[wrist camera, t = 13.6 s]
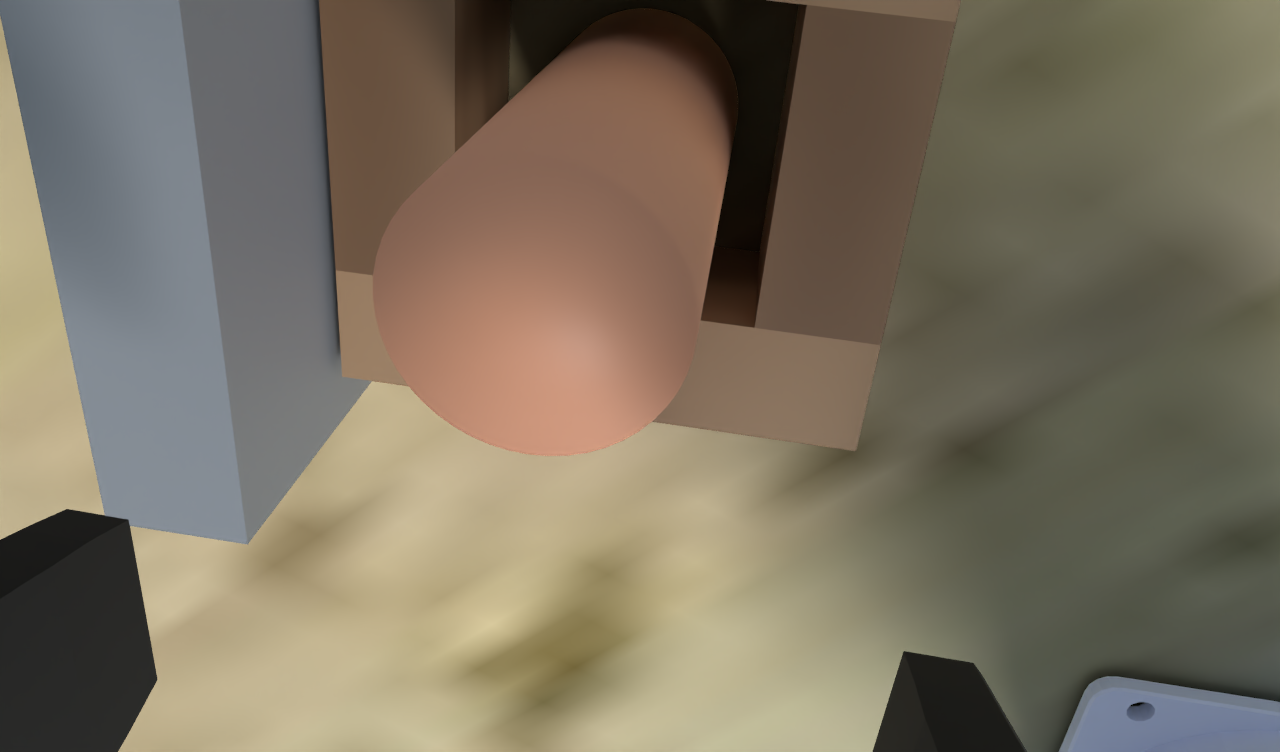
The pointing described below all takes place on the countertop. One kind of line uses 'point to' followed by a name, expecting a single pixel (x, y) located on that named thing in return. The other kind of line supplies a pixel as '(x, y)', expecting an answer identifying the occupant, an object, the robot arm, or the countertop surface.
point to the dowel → (567, 244)
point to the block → (738, 279)
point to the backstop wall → (188, 245)
